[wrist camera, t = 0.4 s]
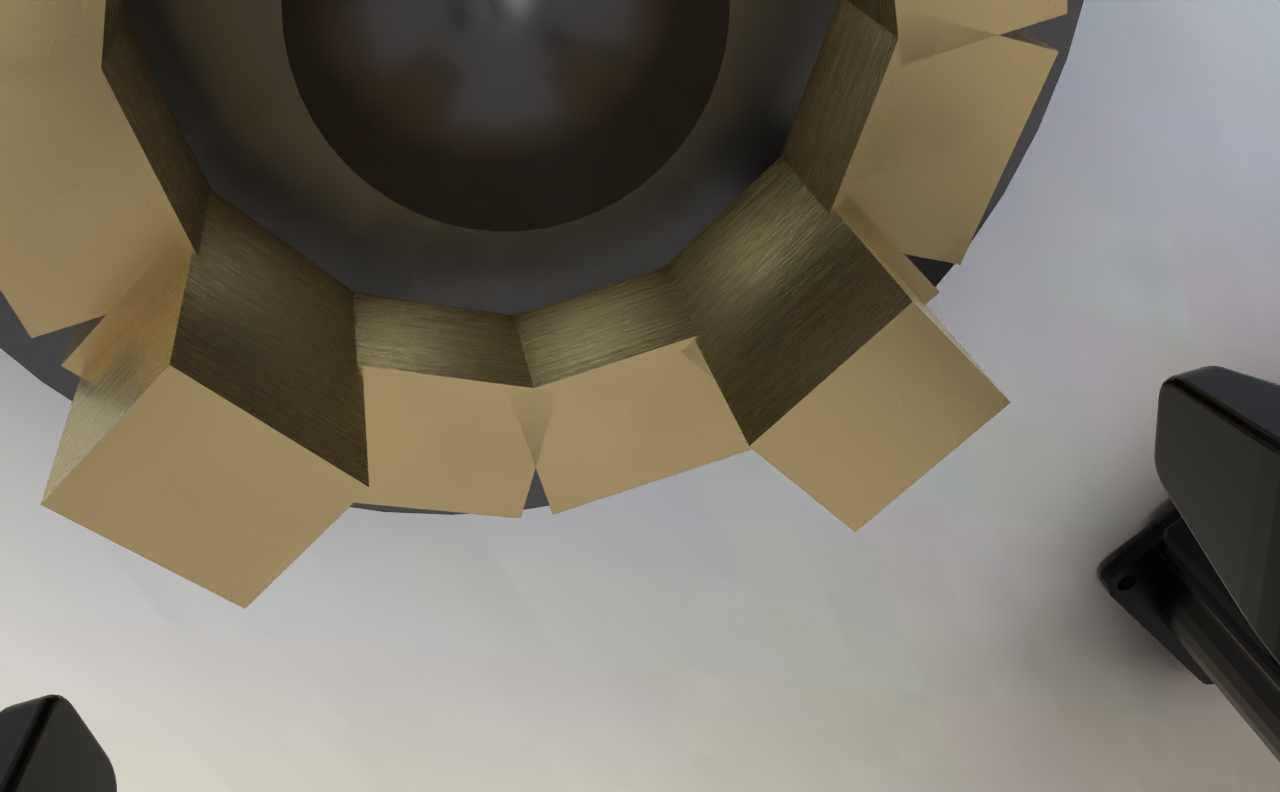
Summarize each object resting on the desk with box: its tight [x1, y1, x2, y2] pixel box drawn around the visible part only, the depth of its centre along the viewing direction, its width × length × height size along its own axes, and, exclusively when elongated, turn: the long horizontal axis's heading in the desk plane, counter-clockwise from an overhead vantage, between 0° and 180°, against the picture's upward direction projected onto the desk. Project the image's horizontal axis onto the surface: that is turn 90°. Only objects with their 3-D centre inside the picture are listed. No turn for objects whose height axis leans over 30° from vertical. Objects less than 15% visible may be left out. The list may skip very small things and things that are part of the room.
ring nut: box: [0, 0, 1067, 608], centre depth 16 cm, size 16×16×5 cm
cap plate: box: [0, 0, 1084, 515], centre depth 18 cm, size 20×20×2 cm
